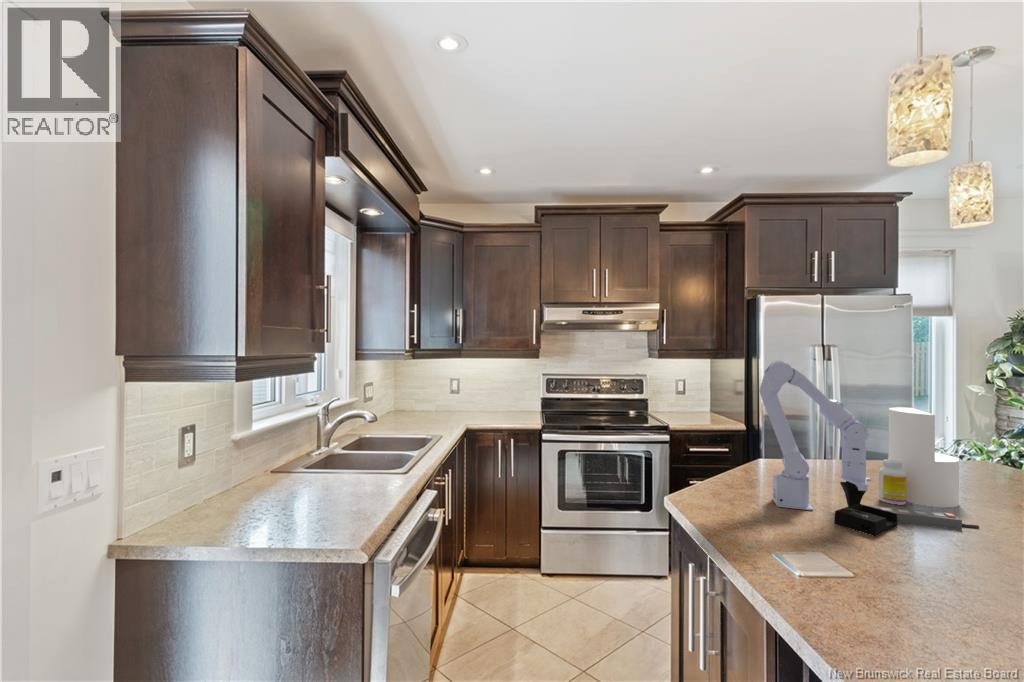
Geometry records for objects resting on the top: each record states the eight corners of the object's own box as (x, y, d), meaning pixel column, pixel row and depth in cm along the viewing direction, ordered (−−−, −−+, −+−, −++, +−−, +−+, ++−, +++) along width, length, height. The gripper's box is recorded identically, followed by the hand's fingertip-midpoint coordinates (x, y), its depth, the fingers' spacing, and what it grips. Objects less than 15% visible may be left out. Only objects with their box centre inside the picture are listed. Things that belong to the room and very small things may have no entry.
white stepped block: (899, 502, 147) (900, 413, 147) (880, 487, 163) (880, 406, 163) (970, 510, 141) (971, 417, 141) (943, 493, 157) (944, 409, 157)
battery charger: (875, 538, 121) (875, 522, 121) (834, 525, 129) (834, 510, 129) (897, 528, 128) (897, 513, 128) (857, 516, 136) (857, 502, 136)
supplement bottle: (911, 506, 144) (911, 464, 144) (886, 504, 145) (886, 463, 145) (897, 499, 151) (898, 459, 151) (874, 497, 152) (874, 457, 152)
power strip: (873, 519, 133) (873, 509, 133) (865, 513, 138) (866, 503, 138) (985, 531, 125) (985, 520, 125) (973, 525, 130) (973, 514, 130)
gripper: (880, 469, 130) (880, 519, 130) (860, 457, 143) (859, 502, 143) (850, 467, 132) (850, 515, 132) (833, 455, 145) (832, 499, 145)
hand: (853, 508), depth 138 cm, fingers closed
